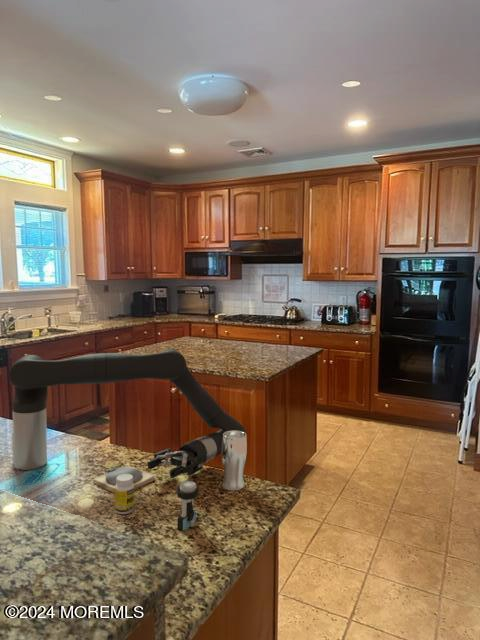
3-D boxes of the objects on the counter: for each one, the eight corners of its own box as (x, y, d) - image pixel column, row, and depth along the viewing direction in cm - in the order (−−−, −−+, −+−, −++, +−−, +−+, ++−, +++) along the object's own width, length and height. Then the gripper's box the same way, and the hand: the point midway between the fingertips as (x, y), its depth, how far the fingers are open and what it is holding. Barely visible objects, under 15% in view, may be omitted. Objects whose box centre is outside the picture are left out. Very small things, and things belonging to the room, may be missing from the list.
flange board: (92, 482, 123) (92, 476, 123) (126, 468, 133) (126, 462, 133) (121, 495, 116) (121, 488, 116) (154, 479, 126) (154, 473, 126)
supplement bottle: (128, 515, 107) (129, 482, 106) (111, 513, 108) (111, 480, 107) (137, 506, 112) (137, 474, 111) (120, 503, 113) (120, 472, 112)
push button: (187, 514, 108) (188, 475, 107) (206, 520, 106) (206, 480, 105) (171, 527, 102) (171, 486, 102) (190, 534, 100) (191, 492, 99)
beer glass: (249, 483, 126) (251, 432, 124) (239, 494, 119) (240, 440, 118) (227, 478, 128) (229, 428, 127) (216, 488, 122) (217, 436, 121)
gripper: (181, 434, 136) (141, 450, 123) (217, 445, 128) (179, 463, 115) (180, 457, 137) (141, 475, 123) (216, 470, 129) (178, 491, 115)
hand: (159, 469), depth 119 cm, fingers open, 8 cm apart
